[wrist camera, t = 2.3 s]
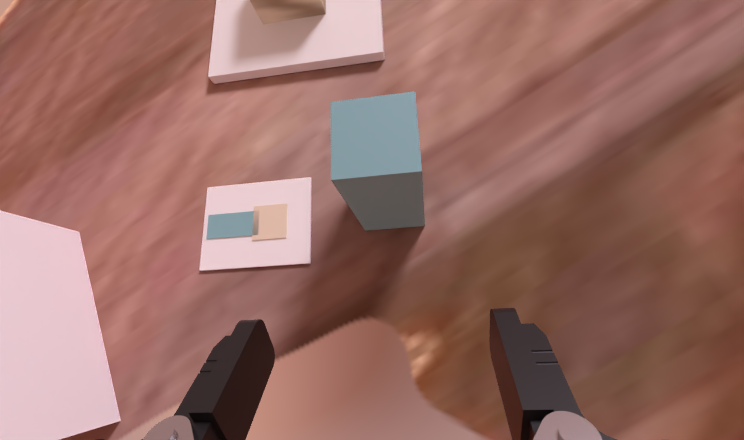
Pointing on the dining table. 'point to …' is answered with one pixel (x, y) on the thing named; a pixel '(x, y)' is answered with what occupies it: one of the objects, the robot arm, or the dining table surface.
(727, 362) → the dining table surface
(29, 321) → the wide white block
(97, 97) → the dining table surface
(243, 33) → the build board
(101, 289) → the dining table surface
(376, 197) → the tall block
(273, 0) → the lower block
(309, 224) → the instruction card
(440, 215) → the dining table surface
